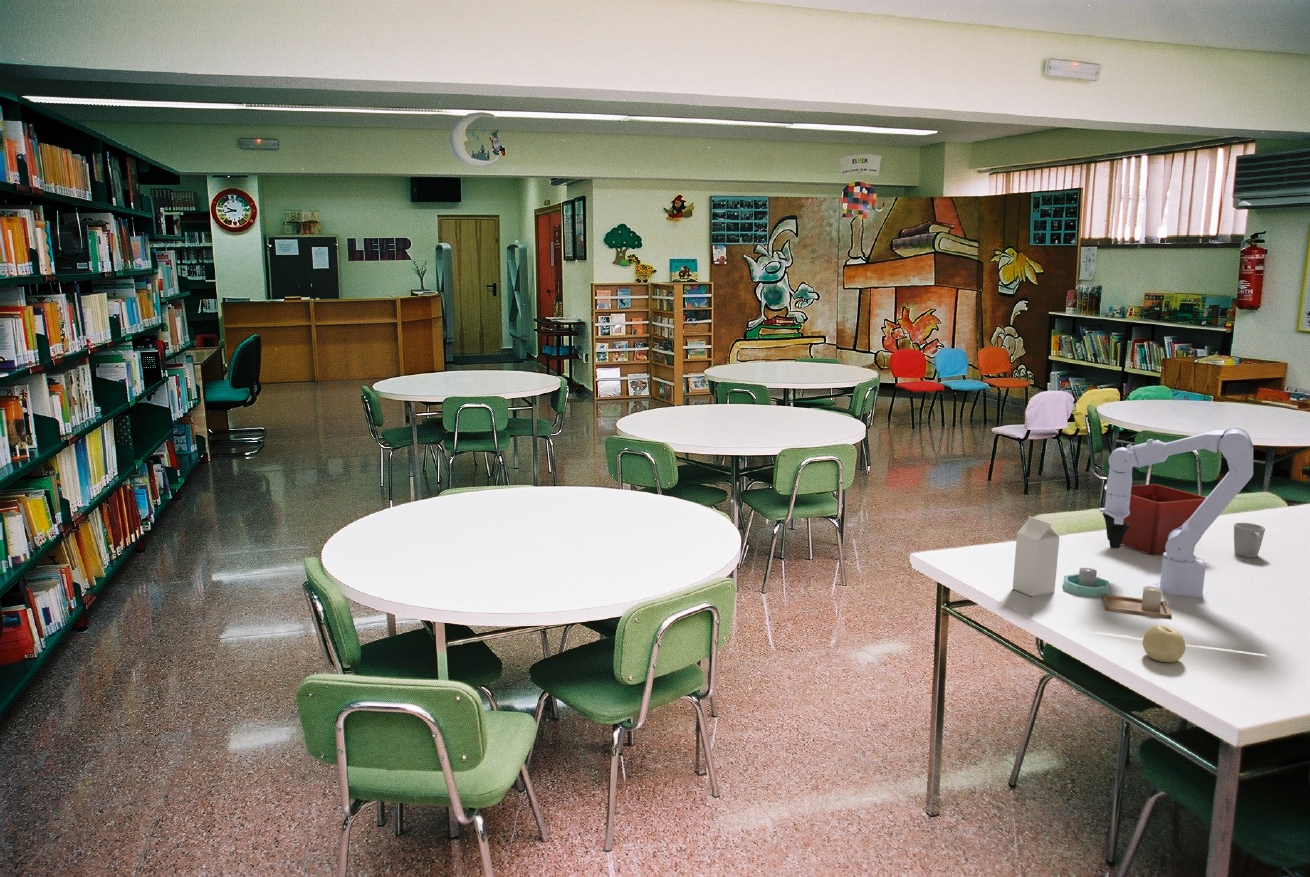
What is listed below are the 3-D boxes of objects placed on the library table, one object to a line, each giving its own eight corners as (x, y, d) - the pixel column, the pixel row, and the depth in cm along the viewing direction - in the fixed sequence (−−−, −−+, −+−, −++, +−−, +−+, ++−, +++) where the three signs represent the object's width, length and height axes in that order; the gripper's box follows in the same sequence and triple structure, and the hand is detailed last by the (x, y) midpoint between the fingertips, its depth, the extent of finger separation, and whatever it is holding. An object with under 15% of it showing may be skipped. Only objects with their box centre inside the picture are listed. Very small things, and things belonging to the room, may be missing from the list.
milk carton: (1033, 597, 232) (1039, 524, 229) (1012, 588, 239) (1018, 517, 235) (1054, 594, 235) (1061, 521, 231) (1033, 585, 241) (1039, 514, 238)
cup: (1253, 551, 271) (1257, 523, 269) (1271, 561, 261) (1275, 532, 260) (1225, 550, 272) (1229, 522, 270) (1242, 560, 262) (1245, 531, 261)
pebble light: (1158, 607, 225) (1160, 587, 224) (1161, 612, 221) (1163, 592, 220) (1140, 604, 226) (1142, 585, 225) (1142, 610, 223) (1144, 590, 222)
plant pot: (1150, 536, 286) (1156, 483, 282) (1204, 554, 268) (1211, 498, 265) (1100, 541, 280) (1106, 487, 276) (1152, 560, 262) (1158, 503, 259)
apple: (1130, 649, 201) (1146, 617, 201) (1166, 668, 199) (1182, 636, 200) (1144, 652, 193) (1161, 619, 193) (1182, 672, 191) (1198, 638, 192)
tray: (1165, 605, 227) (1165, 601, 227) (1171, 620, 218) (1171, 615, 218) (1102, 598, 232) (1102, 593, 232) (1105, 612, 223) (1105, 607, 223)
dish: (1106, 586, 240) (1107, 577, 240) (1109, 600, 231) (1110, 590, 230) (1062, 581, 244) (1063, 572, 243) (1064, 594, 234) (1065, 584, 234)
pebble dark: (1095, 587, 238) (1097, 569, 237) (1094, 592, 235) (1096, 573, 234) (1078, 585, 240) (1080, 566, 239) (1077, 590, 236) (1079, 571, 235)
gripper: (1099, 486, 249) (1094, 534, 252) (1103, 498, 236) (1098, 550, 238) (1128, 488, 247) (1123, 537, 249) (1134, 501, 233) (1129, 553, 236)
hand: (1113, 544), depth 244 cm, fingers open, 7 cm apart
